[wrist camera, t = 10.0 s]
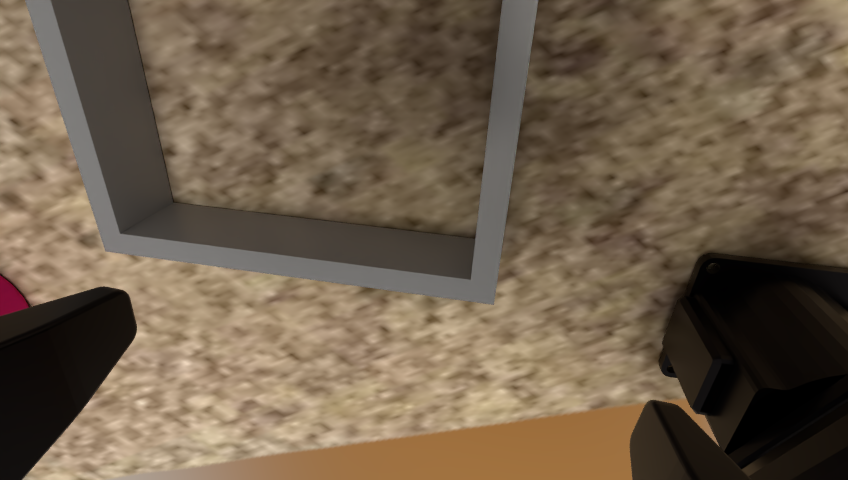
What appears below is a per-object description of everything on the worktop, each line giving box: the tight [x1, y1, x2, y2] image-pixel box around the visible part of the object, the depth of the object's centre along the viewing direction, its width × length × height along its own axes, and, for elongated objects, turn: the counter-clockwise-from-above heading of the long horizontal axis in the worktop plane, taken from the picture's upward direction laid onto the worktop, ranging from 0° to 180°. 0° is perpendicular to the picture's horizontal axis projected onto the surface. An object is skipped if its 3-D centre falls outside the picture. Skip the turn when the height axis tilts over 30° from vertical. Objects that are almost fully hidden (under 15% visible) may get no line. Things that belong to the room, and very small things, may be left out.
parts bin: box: [25, 0, 538, 305], centre depth 16 cm, size 17×17×4 cm
